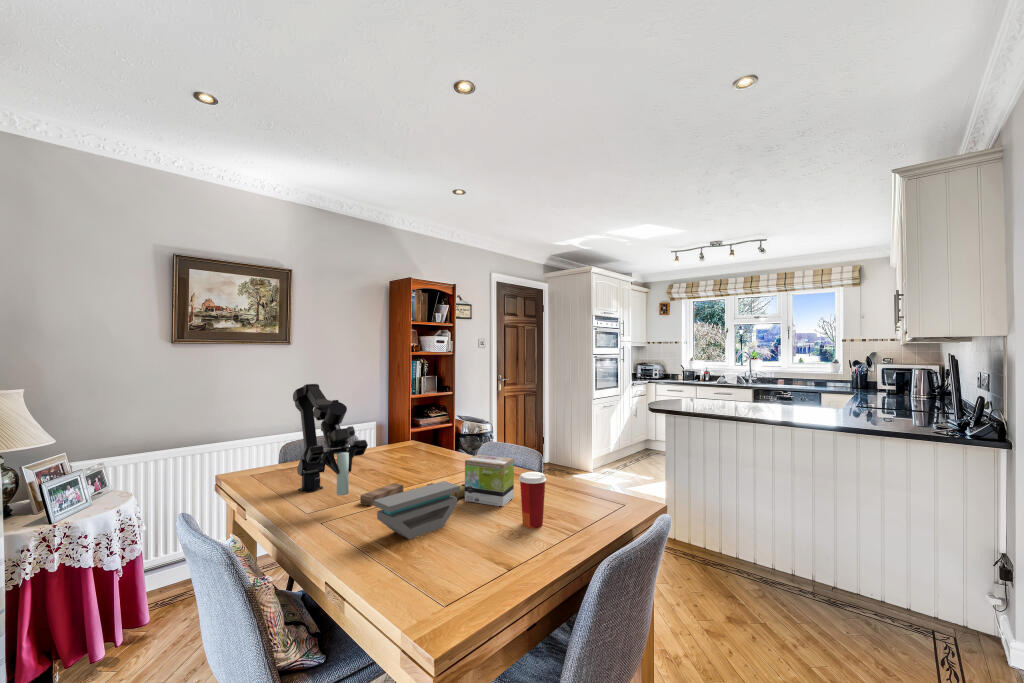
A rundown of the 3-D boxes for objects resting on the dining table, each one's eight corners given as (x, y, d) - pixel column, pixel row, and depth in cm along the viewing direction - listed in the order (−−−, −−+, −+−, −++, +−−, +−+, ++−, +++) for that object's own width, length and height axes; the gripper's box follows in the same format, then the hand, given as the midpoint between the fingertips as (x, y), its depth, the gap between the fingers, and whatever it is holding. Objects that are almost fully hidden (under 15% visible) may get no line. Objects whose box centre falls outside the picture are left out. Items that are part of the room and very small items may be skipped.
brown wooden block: (370, 506, 151) (371, 497, 151) (360, 504, 153) (360, 495, 153) (403, 493, 165) (403, 485, 165) (393, 491, 167) (393, 483, 167)
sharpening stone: (388, 547, 119) (389, 506, 119) (373, 539, 124) (373, 500, 125) (459, 521, 137) (459, 485, 138) (443, 515, 143) (443, 480, 143)
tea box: (463, 502, 155) (463, 459, 155) (476, 493, 164) (476, 453, 165) (503, 507, 149) (503, 463, 150) (514, 498, 159) (514, 457, 159)
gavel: (415, 482, 169) (437, 476, 176) (416, 494, 169) (437, 488, 176) (450, 490, 155) (471, 483, 162) (450, 503, 154) (472, 496, 161)
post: (334, 494, 144) (334, 454, 144) (343, 491, 147) (343, 451, 147) (342, 496, 142) (342, 455, 143) (350, 492, 145) (351, 453, 146)
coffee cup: (549, 521, 137) (549, 472, 137) (542, 531, 129) (542, 479, 130) (523, 518, 140) (523, 470, 140) (515, 528, 132) (514, 477, 132)
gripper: (309, 421, 142) (320, 462, 134) (365, 416, 154) (379, 453, 146) (301, 442, 148) (311, 483, 139) (356, 435, 160) (369, 472, 152)
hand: (344, 472), depth 144 cm, fingers closed on post, 4 cm apart
